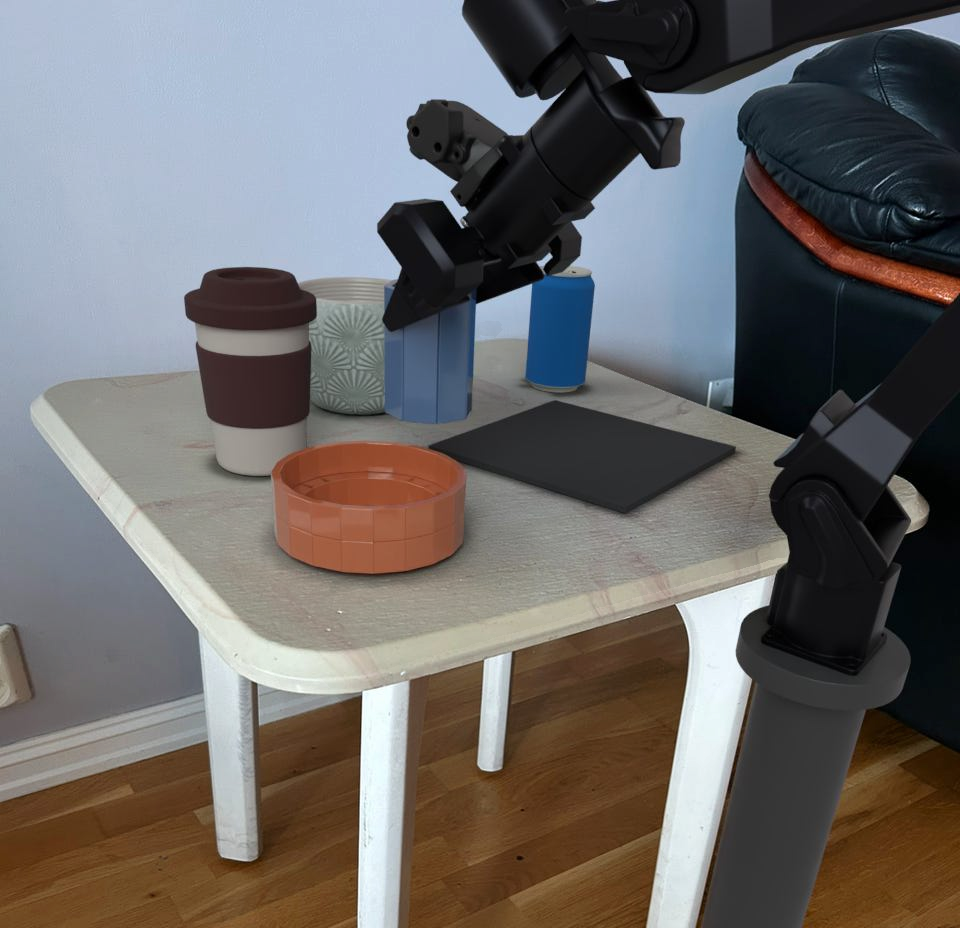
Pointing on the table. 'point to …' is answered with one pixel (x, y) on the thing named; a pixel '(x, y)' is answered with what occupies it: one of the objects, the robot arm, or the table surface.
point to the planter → (348, 344)
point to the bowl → (368, 506)
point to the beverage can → (560, 330)
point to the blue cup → (431, 365)
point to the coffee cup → (253, 363)
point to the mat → (586, 454)
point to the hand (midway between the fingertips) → (414, 317)
